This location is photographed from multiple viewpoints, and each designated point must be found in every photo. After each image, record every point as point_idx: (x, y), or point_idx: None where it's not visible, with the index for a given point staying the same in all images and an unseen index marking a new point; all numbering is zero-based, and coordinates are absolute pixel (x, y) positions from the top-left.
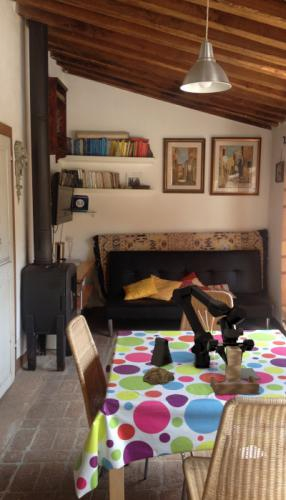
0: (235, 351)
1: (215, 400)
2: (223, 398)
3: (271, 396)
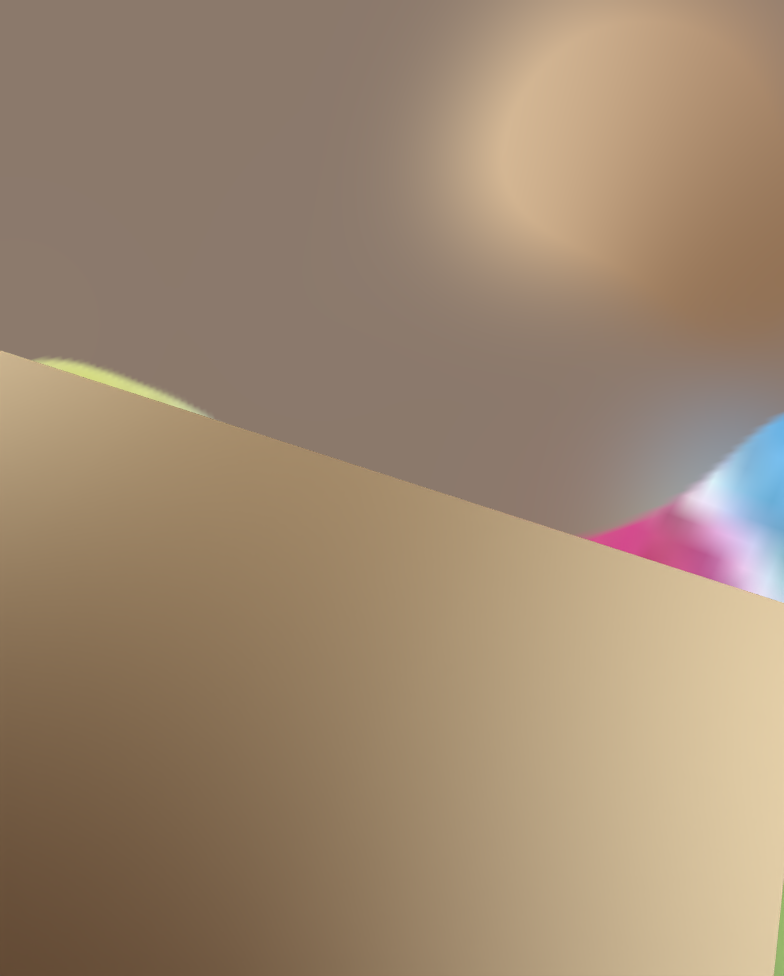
0: (289, 475)
1: (774, 519)
2: (656, 528)
3: (116, 380)
